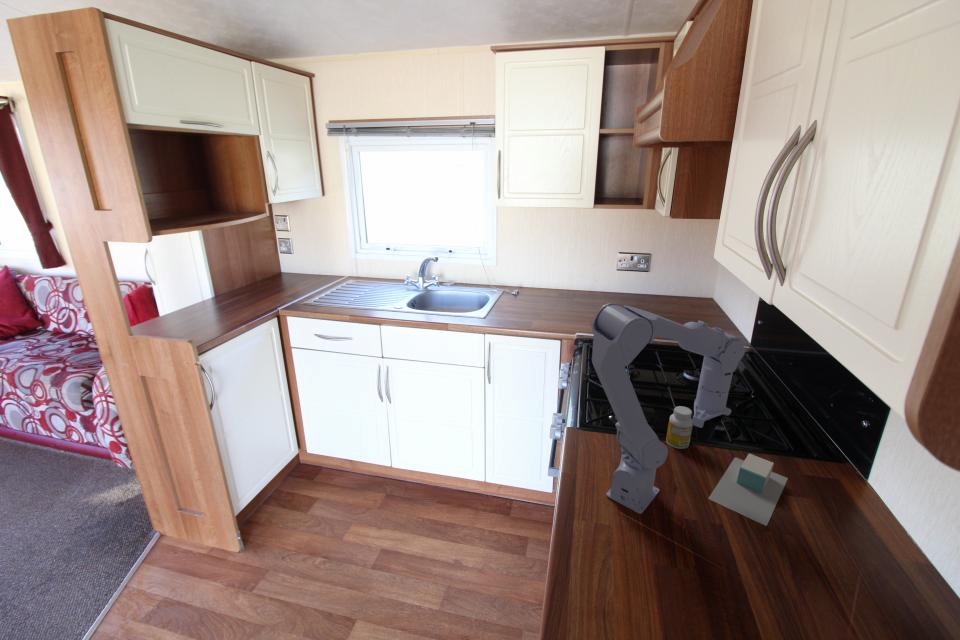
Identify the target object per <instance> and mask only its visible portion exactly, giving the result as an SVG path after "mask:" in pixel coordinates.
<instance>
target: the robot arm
mask: <svg viewBox="0 0 960 640" xmlns="http://www.w3.org/2000/svg"><path fill="white" fill-rule="evenodd" d="M590 326H591V331H592V335H593V340H592V352H591V353H592V354H591V362H592V365H593V368H594V370H595V372H596V376H597V377H598V380H599V382H600V384H601V386H602V388H603V390H604V394H605V396H606V397H607V400H608V402H609V405H610V406H611V408H612V411H613V413H614V415H615V418H616V421H617V422H616V423H615V424H614V425H615V427H616V440H617V442H618V444H620V451H621V456H620V463H619V465H618V467H617V468H616V470H615V471H614V472H613V474H612V480H611V487H610V489H609V490H608V491H607V492H606V494H605V495H606V497H607V498H609V499H611V500H613V501H615V502H616V503H619V504H620V505H623V506H624V507H626V508H628V509H629V510H632V511H634V512H635V513H637V514H640V515H641V514H643V512H644V511H645V510H646V509H647V507H649V505H650V504H651V502H652V501H653V500H654V499H655V498H656V496H657V495H658V494H659V493H660V489H659V487H657V486H655V485H654V484H655V478H656V472H657V469H658V468H660V467H661V466H662V465H664V463H665V462H666V461H667V458H668V455H669V449H668V447H667V445H666V444H664V443H663V442H661V441H660V439H659V437H658V435H657V434H656V432H655V431H654V430H653V429H652V427H651V426H650V424H649V423H648V421H647V418H646V416H645V415H644V414H645V413H644V411H643V408H642V406H641V403H640V401H639V399H638V397H637V393H636V392H635V389H634V386H633V384H632V382H631V380H630V377H629V374H628V371H627V369H626V367H628V366H629V365H630V364H631V363H632V362H633V361H634V359H636V357H637V356H638V355H639V354H640V353H641V352H642V350H643V349H644V348H645V347H646V346H647V345H648V343H649V344H653V343H654V341H655V339H656V337H661V338H665V339H668V340H672V341H676V342H677V344H678V346H679V347H680V348H681V349H682V350H684V351H688V352H690V353H694V354H698V355H700V356H703V359H702V360H703V361H702V366H701V370H700V371H701V372H700V376H699V382H698V387H697V391H696V398H695V399H694V403H693V410H691V411H692V414H691V417H692V418H691V419H692V425H693V426H695V432H696V433H695V434H696V440H697V441H698V442H700V443H703V444H708V443H709V441H710V440H711V438H712V436H713V434H714V433H715V430H716V428H717V426H718V425H719V424H720V423H721V421H722V420H723V419H724V418H725V416H730V415H731V413H732V409H730V407H727V401H728V396H729V393H730V388H731V383H732V378H733V373H734V372H735V371H736V370H737V368H738V364H739V362H740V361H741V360H742V359H743V357H744V356H745V353H746V349H745V347H744V344H743V342H742V340H741V338H739V337H736V336H735V335H733V334H730V333H727V332H726V331H725V329H723V328H720V327H715V326H714V327H710V326H709V323H707V322H705V321H702V320H700V319H699V320H698V321H697V322H696V321H689V322H686V323H684V324H681V323H678V322H675V320H674V321H673V320H671V319H668V318H665V317H663V316H661V315H658V314H655V313H654V312H653V313H652V312H651V311H647V310H644V309H640V308H636V307H634V306H630V305H623V306H622V305H621V304H619V303H616V302H608V303H605V304H604V305H602V306H601V307H600V308H599V309H598V310H597V312H596V314H595V316H594V318H593V320H592V321H591V323H590Z"/></svg>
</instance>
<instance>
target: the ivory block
mask: <svg viewBox="0 0 960 640" xmlns="http://www.w3.org/2000/svg"><path fill="white" fill-rule="evenodd" d="M773 467H774V462H773V461H770V460H767V459H764V458H762V457H759V456H757V455H754V454H753V453H748V454H747V456H746V458H745V459H744V462H743V464H742V466H741V467H740V470H739V474H738V478H737V482H736V483H738V484H741V485H743V486H745V487H748V488H750V489H752V490H755V491H757V492H759V493H762V492H763V490H764V488H765V486H766V484H767V482H768V480H769V478H770V475H771V472H773Z"/></svg>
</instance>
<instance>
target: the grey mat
mask: <svg viewBox="0 0 960 640" xmlns="http://www.w3.org/2000/svg"><path fill="white" fill-rule="evenodd" d="M744 461H745V459H744V460H743V459H741V458H739V457H734V458H733V460H732V461H731V462H730V463H729V466H728V467H727V469H726V470H725V472H724V473H723V475H722V477H721V478H720V480H719V481H718V483H717V484H716V486H715V487H714V489H713V490H712V492H711V493H710V495H709V497H708V498H707V499H708V500H709V501H711V502H713V503H716V504H719V505H720V506H722V507H725V508H726V509H728V510H731V511H733V512H735V513H738V514H740V515H741V516H744V517H746V518H748V519H750V520H752V521H755V522H756V523H759V524H761V525H763V526H764V527H767V526H768V523H769V521H770V519H771V517H772V515H773V513H774V510H775V508H776V505H777V504H778V502H779V499H780V497H781V495H782V493H783V491H784V488H785V485H786V484H787V481H788V479H789V478H788V477H786V476H783V475H780V474H779V473H776V472H773V471H771V475H770V478H769V480H768V482H767V484H766V486H765V488H764V490H763V492H762V493H759V492H757V491H755V490H752V489H750V488H748V487H745V486H743V485H741V484H738V483H736V482H737V478H738V474H739V470H740V467H741V466H742V464H743V462H744Z"/></svg>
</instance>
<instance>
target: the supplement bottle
mask: <svg viewBox="0 0 960 640" xmlns="http://www.w3.org/2000/svg"><path fill="white" fill-rule="evenodd" d="M692 411H693V410H691V409H690V408H689V407H686V406H683V405H682V406H681V405H679V406H676V407H674V409H673V413H672V414H671V415H670V416H669V421H668V425H667V432H666V438H665V441H666V443H667V444H668V445H669V446H670V447H672V448H676V449H679V450H680V449H681V450H683V449H687V448H689V446H690V442H691V436H692V432H693V431H692V430H693V426H694V425H692V419H693V418H691V417H692Z"/></svg>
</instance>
